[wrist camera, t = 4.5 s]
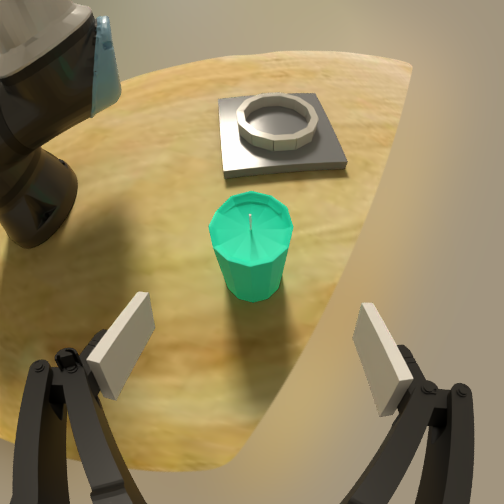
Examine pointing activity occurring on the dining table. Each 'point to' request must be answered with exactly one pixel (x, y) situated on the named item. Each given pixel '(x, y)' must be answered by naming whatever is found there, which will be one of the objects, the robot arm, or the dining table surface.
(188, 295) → the dining table surface
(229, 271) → the candle
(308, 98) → the candle stand
